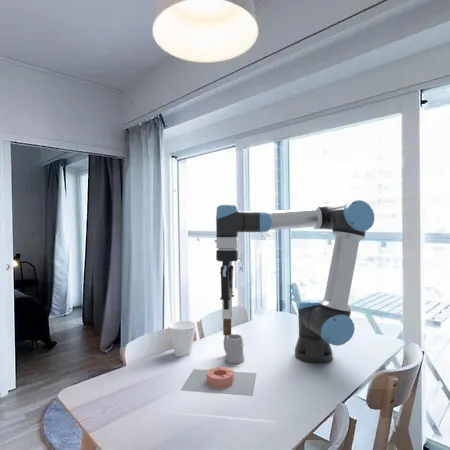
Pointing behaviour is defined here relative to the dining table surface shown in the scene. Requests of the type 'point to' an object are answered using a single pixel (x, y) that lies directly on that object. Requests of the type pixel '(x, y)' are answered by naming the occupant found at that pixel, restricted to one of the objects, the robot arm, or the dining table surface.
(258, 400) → the dining table surface
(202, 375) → the mat
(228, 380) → the bead
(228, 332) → the brown wooden bar
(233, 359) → the mug
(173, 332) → the cup
